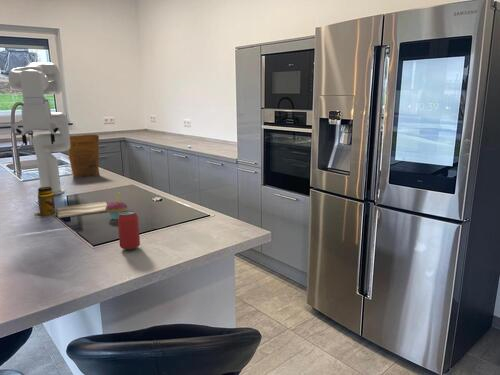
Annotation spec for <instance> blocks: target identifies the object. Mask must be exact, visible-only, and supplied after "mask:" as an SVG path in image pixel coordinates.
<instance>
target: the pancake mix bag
mask: <svg viewBox="0 0 500 375" xmlns="http://www.w3.org/2000/svg"><path fill="white" fill-rule="evenodd" d="M99 145H100V136H99V134H98V135H97V134H85V135H70V149H69V150H68V151H67V155H68V159H69V163H70V169H71V172H72V177H73V178H76V177H78V178H91V177H92V176H93V177H97V176H98V175H99V176H100V175H101V174H100V170H99V166H100V165H99V164H100V163H99V156H100V146H99ZM93 177H92V178H93Z"/></svg>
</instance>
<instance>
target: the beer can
mask: <svg viewBox="0 0 500 375" xmlns="http://www.w3.org/2000/svg"><path fill="white" fill-rule="evenodd" d="M117 230H118V239H119V247H120V248H121V249H122V250H134V249H136V248H139V246H140V245H141V240H140V226H139V216H138V214H137V211H136V210H134V209H133V210H132V209H130V210H129V209H128V210H127V209H126V210H125V211H122V212H120V213H119V216H118V219H117Z"/></svg>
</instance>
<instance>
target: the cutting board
mask: <svg viewBox="0 0 500 375" xmlns="http://www.w3.org/2000/svg"><path fill="white" fill-rule="evenodd" d="M107 205H108V204H107V202H106V201H99V202H90V203H83V204H72V205H66V206H65V205H64V206H58V207H57V218H58V219H60V218H69V217H70V218H71V217H76V216H77V217H78V216H85V215H91V214H92V215H93V214H99V213H100V214H101V213H108V212H107V211H106V206H107Z"/></svg>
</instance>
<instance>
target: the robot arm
mask: <svg viewBox="0 0 500 375" xmlns="http://www.w3.org/2000/svg"><path fill="white" fill-rule="evenodd" d="M60 73H61V72H60V69H59V67H58V66H57V65H56V64H55V63H52V62H30V63H27V65H25V66H22V67H21V66H20V67H16V68H11V70H10V71H9V72H8V84H9V86H10V87H11V89H13V90H14V91H21V93H22V102H23V105H22V106H21V120H19V121H17V122H15V123H13V124H12V127H13V129H14V130H15V132H17V133H18V134H20V136H21V139H22V144H24V146H28V140H27V135H26V133H27V132H28V131H39V132H40V131H41V132H49V133H39V134H36V135H34V136H33V138H32V146H33V149H34V152H35V153H34V154H35V157H36V165H37V169H38V170H37V172H38V176H39V177H38V179H39V187H40V188H42V187H51V188H52V193H53V196H56V195H61V194H63V193H65V189H63V188H62V187H61V179H60V171H59V162H58V159H57V157H56V156H55V155H54V154H52V153H54V152H56V153H57V152H68V150H69V149H70V136H71V134H70V129H69V123H68V117H67V115H66V113H64V112H60V111H57V112H53V111H51V103H50V102H49V99H48V98H46V96H45V95H59V94H61V92H62V88H63V87H62V80H61V74H60ZM20 125H22V128H23V130H21V129H20V128H19V126H20ZM57 132H59V133H57ZM38 194H39V193H38V192H37V195H38Z"/></svg>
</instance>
